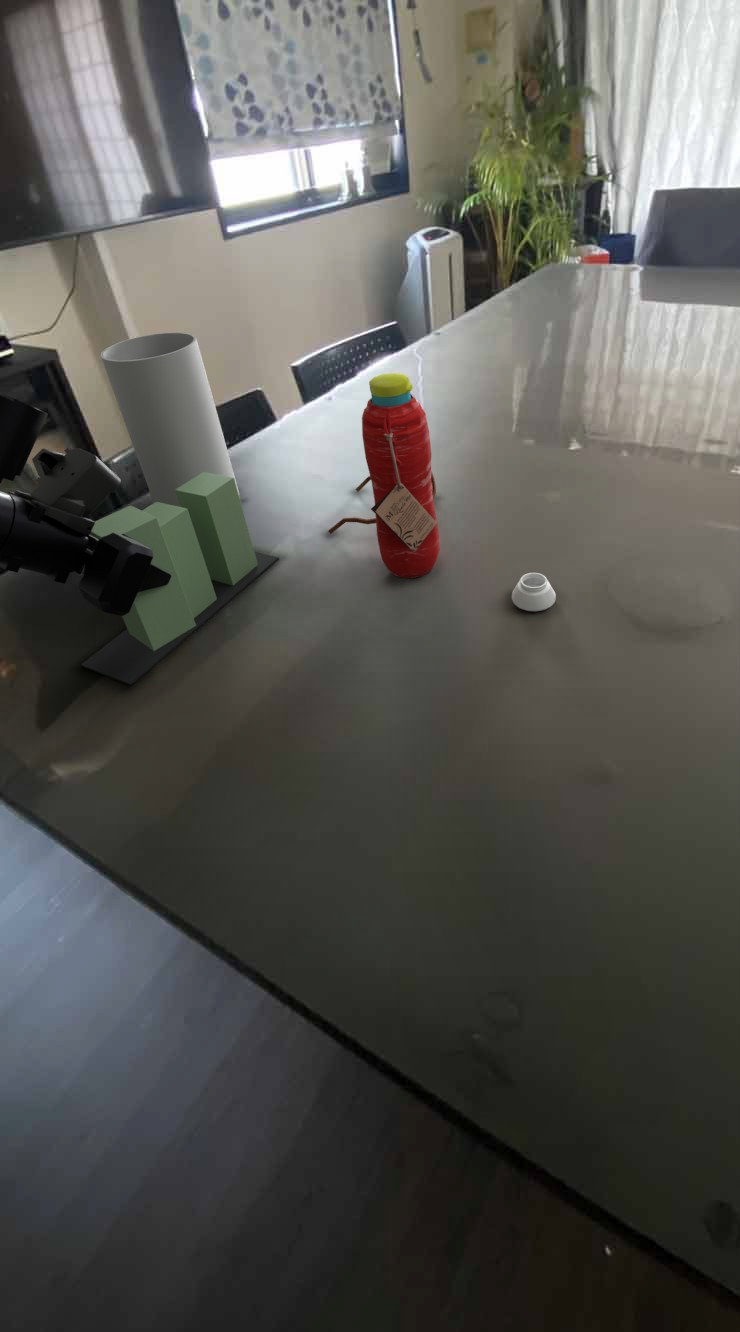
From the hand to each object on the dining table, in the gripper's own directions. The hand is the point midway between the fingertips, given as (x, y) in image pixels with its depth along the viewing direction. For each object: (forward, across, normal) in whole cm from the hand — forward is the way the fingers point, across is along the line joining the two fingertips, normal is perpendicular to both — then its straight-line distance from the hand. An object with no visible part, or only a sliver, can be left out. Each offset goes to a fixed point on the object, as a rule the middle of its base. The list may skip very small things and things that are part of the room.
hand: (154, 571), depth 69 cm
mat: (+13, +9, +5) cm, 16 cm away
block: (+4, 0, +6) cm, 7 cm away
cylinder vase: (+25, +30, -7) cm, 40 cm away
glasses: (+34, +4, -17) cm, 39 cm away
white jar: (+30, -26, -13) cm, 42 cm away
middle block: (+13, +9, +4) cm, 16 cm away
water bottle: (+28, -10, -10) cm, 31 cm away
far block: (+18, +11, -1) cm, 21 cm away
